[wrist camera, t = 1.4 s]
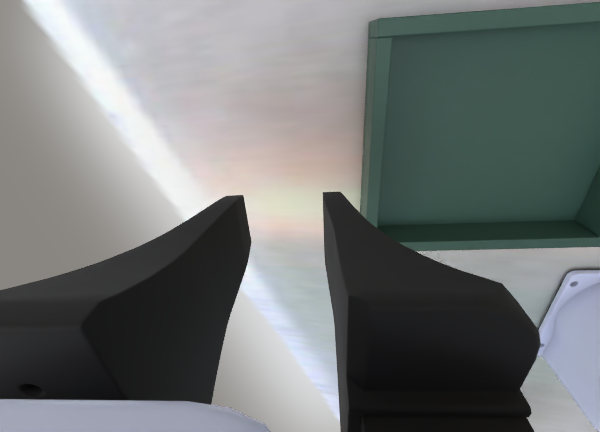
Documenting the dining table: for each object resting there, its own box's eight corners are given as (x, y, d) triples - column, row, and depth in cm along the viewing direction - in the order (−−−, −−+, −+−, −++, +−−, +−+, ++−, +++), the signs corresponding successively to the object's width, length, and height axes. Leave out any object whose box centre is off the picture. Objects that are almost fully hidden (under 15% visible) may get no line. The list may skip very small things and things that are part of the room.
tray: (575, 224, 20) (606, 246, 18) (359, 230, 21) (364, 252, 19) (683, -2, 14) (750, -10, 12) (368, 21, 15) (378, 18, 13)
